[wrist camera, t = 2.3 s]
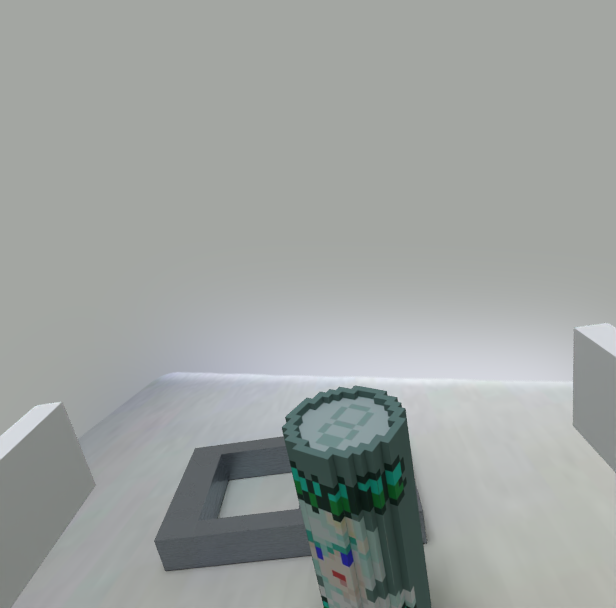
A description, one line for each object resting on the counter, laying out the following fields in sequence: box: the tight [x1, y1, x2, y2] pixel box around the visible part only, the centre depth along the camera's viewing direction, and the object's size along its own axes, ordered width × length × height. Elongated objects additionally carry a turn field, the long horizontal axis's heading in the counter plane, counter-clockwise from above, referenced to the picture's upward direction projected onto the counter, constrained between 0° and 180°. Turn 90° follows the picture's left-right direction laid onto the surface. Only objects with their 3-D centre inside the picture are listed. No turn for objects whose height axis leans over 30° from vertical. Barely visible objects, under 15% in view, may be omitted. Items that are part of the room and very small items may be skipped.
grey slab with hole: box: [154, 437, 427, 571], centre depth 38 cm, size 20×11×3 cm, turn 88°
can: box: [282, 386, 431, 608], centre depth 25 cm, size 6×6×15 cm
